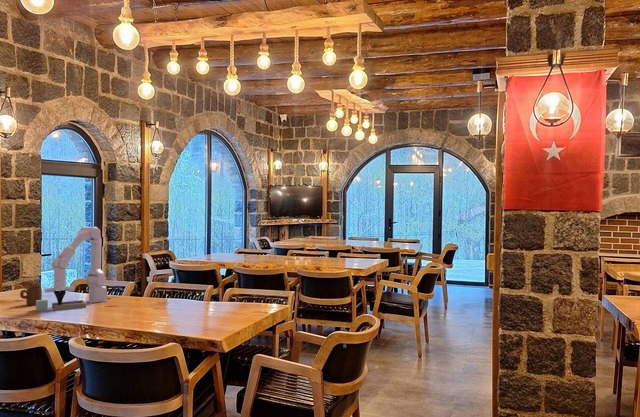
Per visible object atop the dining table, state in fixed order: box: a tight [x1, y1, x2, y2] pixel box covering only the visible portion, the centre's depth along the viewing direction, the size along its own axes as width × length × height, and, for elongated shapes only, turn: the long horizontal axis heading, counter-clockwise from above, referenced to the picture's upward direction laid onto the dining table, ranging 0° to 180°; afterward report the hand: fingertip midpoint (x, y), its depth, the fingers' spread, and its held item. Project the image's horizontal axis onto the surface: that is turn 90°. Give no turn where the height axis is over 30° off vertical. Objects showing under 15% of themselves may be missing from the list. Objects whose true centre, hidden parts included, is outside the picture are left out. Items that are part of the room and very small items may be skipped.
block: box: [35, 299, 49, 312], centre depth 286 cm, size 5×5×5 cm
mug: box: [19, 286, 43, 306], centre depth 299 cm, size 12×8×9 cm, turn 153°
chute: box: [51, 299, 87, 311], centre depth 294 cm, size 16×10×2 cm, turn 125°
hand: (59, 304), depth 291 cm, fingers closed
